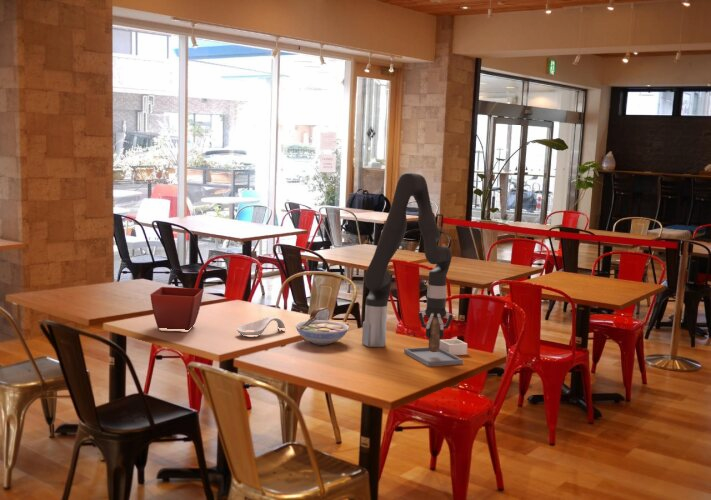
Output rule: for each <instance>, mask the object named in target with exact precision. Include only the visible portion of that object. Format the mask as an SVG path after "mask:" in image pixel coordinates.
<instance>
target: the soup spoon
mask: <svg viewBox="0 0 711 500" xmlns="http://www.w3.org/2000/svg"><path fill="white" fill-rule="evenodd" d="M330 315H331V310H330V309H329V308H328V307H325V306H320V307H317V308H314V309H313V310H312V311H311V312H310V315H309V319H310V318H311V317H313V318H312V319H314V318H315V317H317V318H316V319H315V320H324V321H328V320H329V321H330ZM312 319H311V320H312ZM311 320H310V321H311Z"/></svg>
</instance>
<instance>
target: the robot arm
mask: <svg viewBox="0 0 711 500" xmlns="http://www.w3.org/2000/svg"><path fill="white" fill-rule="evenodd" d="M396 183H397V184H396V187H395V191H394V195H393V199H392V201H391V202H392V203H391V205H390V208H389V211H388V215H387V218H386V220H385V222H384V224H383V227H382V229H381V230H382V231H381V233H380V237H379V239H378V242H377V244H376V245H377V246H376V248H375V251H374V254H373V257H372V259H371V260H370V263H369V265H368V267H367V269H366V271H365V272H364V276H363V277H364V278H363V282H364V284H365V285H364V286H365V287H366V288H367V289H368V290H369V292H368V295H367V296H366V297H365V310H364V311H365V312H364V321H363V322H362V331H361V333H362V334H361V344H362V345H364V346H366V347H367V348H368V347H369V348H370V347H371V348H381V347H382V348H383V347H385V346H386V343H387V337H386V336H387V319H388V304H389V303H388V302H389V299H390V294H391V285H392V284H391V283H392V275H391V273H390V271H389V269H388V267H389V264H390V261H391V260H392V258H393V257H394V255H395V254H396V252H397V251H398V250H399V248H400V246H401V245H402V242H403V239H404V237H405V234H406V231H407V227H408V224H407V223H408V220H407V208H408V205H409V202H410V199H411V197H413V198H414V200H415V202H416V204H417V209H418V218H417V221H418V222H417V223H418V227H419V231H420V233H421V236H422V239H423V247H424V257H425V259H426V261H427V262H428V263H429V264H431V265H436V266H435V267H434V268H433V269H431V270H430V271H429V272H428V281H427V282H428V284H427V291H426V309H425V310H424V311H419V312H418V317H419V318H418V319H419V321H420V325H421V327H422V328H424V329H425V337H426V338H427V339H429V331H430V329H429V327H430V324H431V321H432V318H433V317H438V320H439V324H440V340H442V338H444V332H445V330H447V329H449V328H450V324H451V322H452V320H453V319H452V318H453V314H452V313H449V312H447V311H446V303H447V275H448V272H449V269H450V266H451V262H452V257H453V255H452V251H451V249H450V248H449V246H446V245H437V242H438V241H439V240H441V237H442V235H441V232H440V229H439V227H438V224H437V221H436V218H435V214H434V212H433V207H432V203H431V198H430V193H429V187H428V184H427V181H426V178H425V177H424V176H423V175H422V174H419V173H413V172H404V173H403V174H401V175H400V176H399V179H398V180H397V182H396ZM425 316H426V317H427V318H428V321H427V322H426V323H425V319H424V317H425ZM445 317H446V319H447V320H446V323H445V325H444V322H443V319H444V318H445ZM440 321H441V322H440Z"/></svg>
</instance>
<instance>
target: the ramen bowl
mask: <svg viewBox="0 0 711 500" xmlns="http://www.w3.org/2000/svg"><path fill="white" fill-rule="evenodd" d="M312 318H313V317H311V318H310V317H309V318H308V319H307V320H304V321H303V320H302V321H299V322H297V323H295V326H294V327H295V329H296V330H297V332H298V334H299V335H300V336H301V338H303V339H305V340H306V341H308V342H311V343H313V344H314V345H318V346H325V345H327V346H328V345H330V344H331V343H335V342H337V341H339V340H341V339H343V338H344V336H345V335H346V334H347V333H348V330H349V328H350V326H349V325H348V324H346V323H344V322H339V321H333V320H329V321H324V320H315V319H316V318H317V317H315V318H314V319H312ZM311 319H312V320H311ZM310 320H311V321H310Z"/></svg>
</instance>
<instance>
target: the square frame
mask: <svg viewBox="0 0 711 500" xmlns="http://www.w3.org/2000/svg"><path fill="white" fill-rule="evenodd" d="M439 348H441V349H443V350H445V351H447V352H449V353H451V354H453V355H455V356H462V355H463V356H464V355H468V343H467V342H464V341H462V340H460V339H458V338H451V339H450V338H449V339H440V346H439Z"/></svg>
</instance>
